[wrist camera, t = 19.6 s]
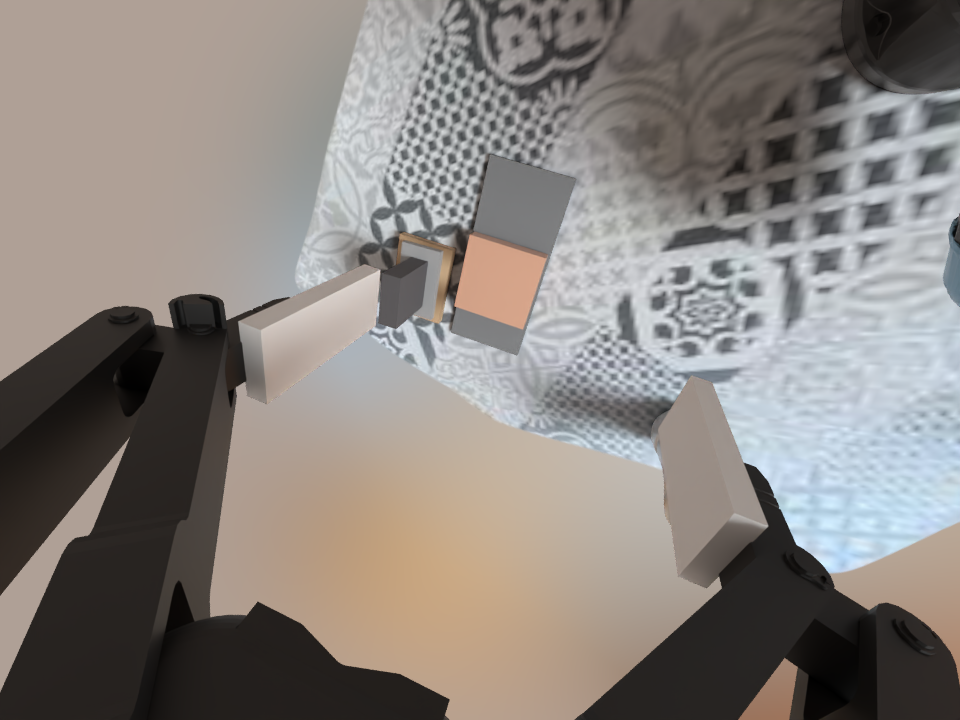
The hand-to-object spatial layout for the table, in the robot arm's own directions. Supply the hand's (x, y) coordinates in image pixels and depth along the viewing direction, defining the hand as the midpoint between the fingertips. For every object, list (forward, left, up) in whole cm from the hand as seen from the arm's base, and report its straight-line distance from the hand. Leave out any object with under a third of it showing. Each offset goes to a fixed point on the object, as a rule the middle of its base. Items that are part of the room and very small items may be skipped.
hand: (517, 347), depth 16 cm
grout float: (+11, -16, -31) cm, 36 cm away
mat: (+7, -6, -32) cm, 33 cm away
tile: (+4, -6, -30) cm, 31 cm away
